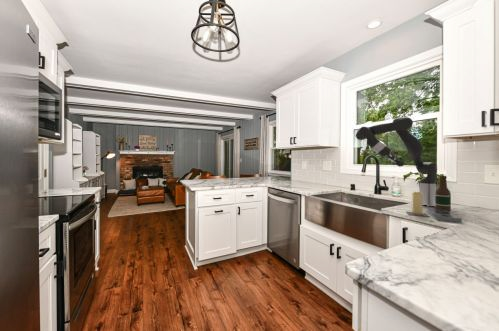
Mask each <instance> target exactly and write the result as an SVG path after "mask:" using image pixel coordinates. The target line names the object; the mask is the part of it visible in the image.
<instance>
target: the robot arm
mask: <svg viewBox="0 0 499 331" xmlns="http://www.w3.org/2000/svg"><path fill="white" fill-rule="evenodd" d="M413 122H414V121H413V119H412V118H410V117H407V116H405V117H404V116H401V117H396V118H394V119H393V121H392V122H386V123H380V124H376V125H373V126H370V127H367V126H362V127H360V128H359V129H358V130H357V132H356V133H355V137H356V139H357V140H359V141H364V140H366V144H367V146H368V147H370V148H371V149H372V150H373V151H374V152H376V154H378V155H379V156H380V157H381V158H384V157H386V158H387V160H389V161H390V162H392V163H393V164H395V165H396V166H398V167H399V168H402V167H403V166H404V163H403V162H402V161H400V159H399V158H398V157H397V156H396V155H395V154H394V153H391V151H392V149H391V148H390V147H389V146H388V145H386V144H385V143H384V142H383V141H381V140H380V139H379V138H378V137H376V136H378V135H383V134H386V133H390V132H396V134H397V135H398V136H399V138H400V139H401V141H402V143H403V145H404V146H405V148H406V150H407V152H408V153H409V155H410V156H411V157H410V158H411V159H412V161H413V164H414V166H415V169H416V170H417V172H418V173H419V174H420V175H426V177H424V178H420V180H419V192H420V193H422V194H423V201H422V205H428V206H427V207H429V206H435V193H436V190H437V189H436V187H437V186H436V184H437V175H438V166H437V164H436V163H435V162H433V161H432V162H427V161H426V162H425V161H423V158H422V154H423V152H424V147H423V145H422V143H421V141H420V140H419V139H418V138H417V136H414V134H412V133H411V132H410V131H409V130H410V129H411V128H412V126H413V124H414V123H413Z"/></svg>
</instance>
